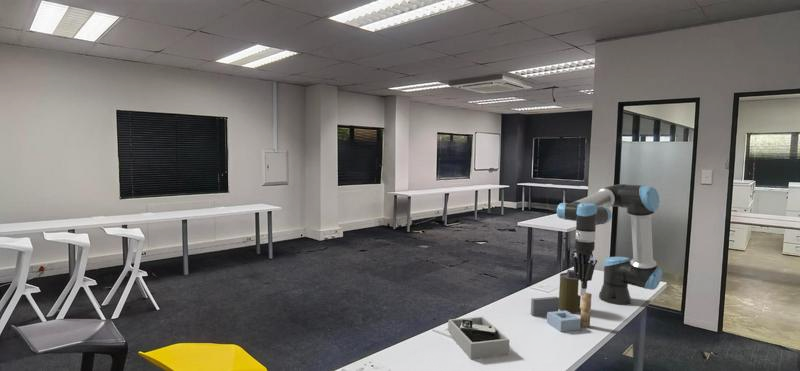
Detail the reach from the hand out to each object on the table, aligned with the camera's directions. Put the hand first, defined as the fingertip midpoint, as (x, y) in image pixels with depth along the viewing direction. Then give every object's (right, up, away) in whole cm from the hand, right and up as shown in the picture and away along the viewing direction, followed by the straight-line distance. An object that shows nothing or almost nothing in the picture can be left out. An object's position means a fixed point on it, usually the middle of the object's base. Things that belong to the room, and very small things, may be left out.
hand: (581, 295), depth 175 cm
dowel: (+7, -17, +13) cm, 23 cm away
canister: (+8, -16, +33) cm, 37 cm away
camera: (-46, -18, -7) cm, 49 cm away
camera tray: (-46, -18, -7) cm, 50 cm away
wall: (-7, -16, +26) cm, 31 cm away
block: (-3, -17, +12) cm, 21 cm away
